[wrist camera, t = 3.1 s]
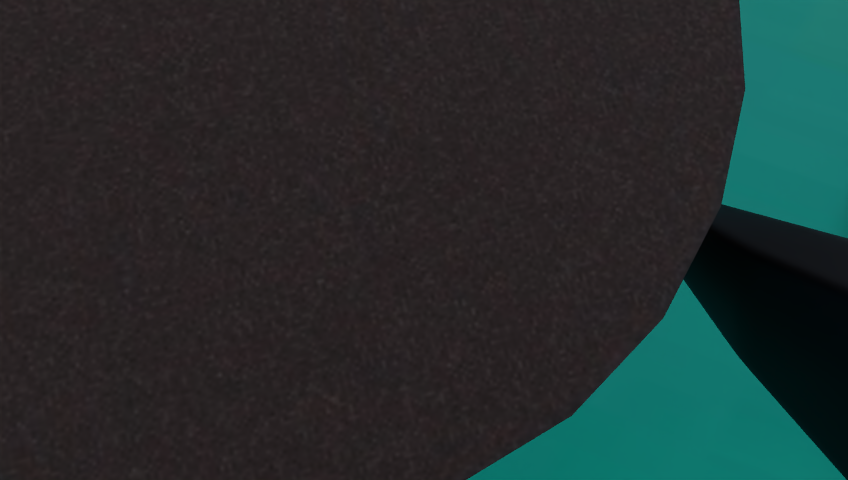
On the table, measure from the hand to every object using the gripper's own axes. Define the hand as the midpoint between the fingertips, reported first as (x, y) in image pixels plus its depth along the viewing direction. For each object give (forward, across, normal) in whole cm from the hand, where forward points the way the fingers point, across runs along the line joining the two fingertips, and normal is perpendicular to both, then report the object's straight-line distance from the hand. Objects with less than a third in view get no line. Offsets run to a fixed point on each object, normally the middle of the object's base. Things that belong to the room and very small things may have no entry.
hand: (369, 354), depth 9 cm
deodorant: (+9, 0, +6) cm, 10 cm away
